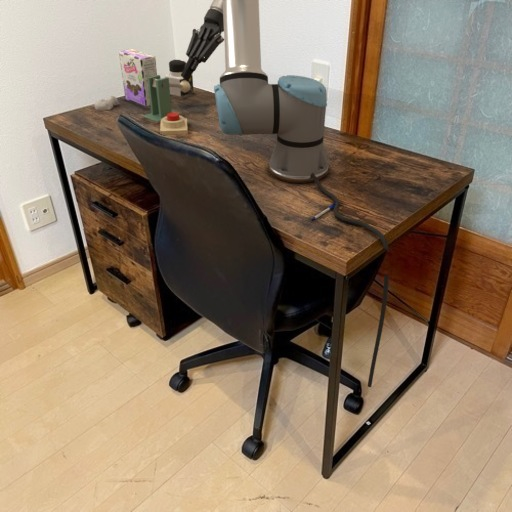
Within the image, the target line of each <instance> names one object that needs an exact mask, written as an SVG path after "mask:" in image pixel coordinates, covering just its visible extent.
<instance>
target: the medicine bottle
mask: <svg viewBox="0 0 512 512" xmlns="http://www.w3.org/2000/svg"><path fill="white" fill-rule="evenodd" d="M186 63H187V61H186V60H184V59H179V58H178V59H172V60H169V62H168V68H169V74H166V75H164V78H165V77H168V78H169V83H174V84H180V83H181V82H182V81H187V80H185V79H184V78H183V77H182V76H181V74H182V72H183V70H184V68H185V65H186ZM187 82H188V83H189V84H190V90H189V91H188V92H182V91H181V90H180V88H177V87H169V88H170V96H177V97H179V98H180V97H185V96H188V95H190V94H191V93H194V77H193V74H192V75H191V77H190V79H189V81H187Z"/></svg>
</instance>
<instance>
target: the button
mask: <svg viewBox="0 0 512 512" xmlns="http://www.w3.org/2000/svg"><path fill="white" fill-rule="evenodd" d="M179 113H180V112H179ZM179 113H175V112H172V113H168V114H167V120H168V121H178V120H179V116H180V114H179Z"/></svg>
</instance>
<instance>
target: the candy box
mask: <svg viewBox="0 0 512 512" xmlns="http://www.w3.org/2000/svg"><path fill="white" fill-rule="evenodd" d="M118 55H119V63H120V69H121V70H120V71H121V76H122V84H123V91H124V98H125V99H124V100H126V101H128V102H129V101H132V102H135V103H137V104H140V105H142V106H144V107H150V98H149V89H148V80H147V78H148V77H152V76H156V75H158V73H157V72H158V71H157V60H156V56H155V55H151V54H148V53H146V52H144V51H140V50H137V49H135V48H130V49H129V48H128V49H125V50H119V51H118Z"/></svg>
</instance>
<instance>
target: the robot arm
mask: <svg viewBox="0 0 512 512" xmlns="http://www.w3.org/2000/svg"><path fill="white" fill-rule="evenodd" d="M260 23H261V22H260V0H212V2H211V4H210V5H209V9H208V10H207V11H206V13H205V14H204V17H203V24H201V25H200V27H199V28H198V29H196V28H193V29H192V33H191V34H192V35H191V37H190V41H189V43H188V46H187V49H186V52H185V55H186V56H187V57H188V59H187V61H186V65H185V68H184V70H183V72H182V74H181V76H182V77H183V78H184V79H185V80H187V81H189V79H190V77H191V75H192V76H193V73H194V72H196V70H197V69H198V67H199V65H200V64H201V63H204V64H205V63H206V62H207V61H208V60H209V58H210V57H211V56H212V55H213V54H214V52H215V51H216V49H217V48H218V47H219V45H221V44H222V43H223V42H224V63H225V64H224V65H225V66H224V67H225V69H224V71H223V73H222V74H221V75H220V76H219V83H218V84H217V85H214V86H213V93H214V97H215V106H216V111H217V116H218V122H219V126H220V130H221V131H222V133H224V134H225V135H229V136H240V137H242V136H245V135H247V136H248V135H276V143H275V146H274V148H273V151H272V154H271V157H270V160H269V163H268V166H269V167H268V170H269V173H270V175H271V176H273V177H274V178H276V179H277V180H280V181H284V182H286V183H294V184H308V183H313V182H314V183H315V185H316V186H317V188H318V189H319V191H321V192H322V193H323V194H324V195H325V196H327V197H328V198H330V199H332V200H333V201H334V203H335V207H334V208H333V214H334V216H335V217H336V218H337V219H339V220H340V221H342V222H345V223H348V224H351V225H356V226H359V227H362V228H364V229H366V230H368V231H370V232H372V233H373V234H376V236H377V237H378V238H379V239H380V242H381V244H382V246H383V249H384V250H386V251H388V250H390V247H389V244H388V241H387V239H386V237H385V235H384V234H383V233H382V232H381V231H380V230H379V229H377V228H376V227H373V226H372V225H369V224H368V223H366V222H364V221H361V220H356V219H353V218H349V217H345V216H344V215H341V214H340V213H339V208H340V204H339V202H340V200H339V198H337V196H336V195H334V193H331V191H329V190H327V189H326V188H325V187H324V186H323V185H322V183H321V180H322V179H324V178H325V177H327V176H328V173H329V161H328V157H327V153H326V149H325V145H324V135H325V126H326V125H325V124H326V112H327V106H328V103H327V101H328V99H327V93H328V92H327V88H326V86H325V85H324V84H323V83H322V82H321V81H319V80H316V79H314V78H311V77H308V76H303V75H295V74H293V75H291V74H287V75H282V76H280V77H279V78H278V80H277V83H275V84H274V83H269V76H268V74H267V73H266V72H265V71H264V70H263V69H262V54H261V51H262V50H261V26H260ZM222 33H223V35H222ZM389 279H390V274H384V275H383V289H382V292H383V293H382V301H381V307H380V315H379V321H378V326H377V332H376V336H375V337H376V338H375V343H374V348H373V353H372V358H371V364H370V367H369V368H370V369H369V375H368V379H367V380H368V381H367V387H368V388H372V386H373V379H374V375H375V369H376V364H377V358H378V353H379V348H380V343H381V339H382V333H383V328H384V323H385V316H386V309H387V302H388V295H389V284H390V283H389V281H390V280H389Z"/></svg>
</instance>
